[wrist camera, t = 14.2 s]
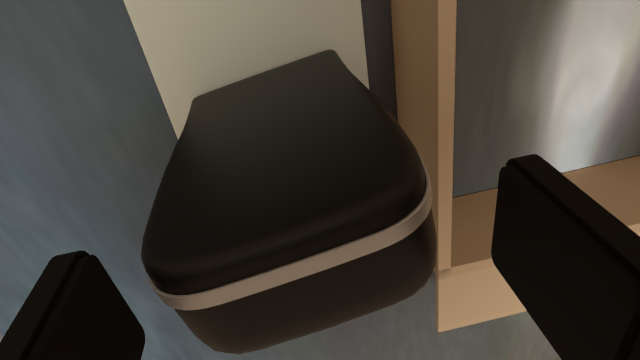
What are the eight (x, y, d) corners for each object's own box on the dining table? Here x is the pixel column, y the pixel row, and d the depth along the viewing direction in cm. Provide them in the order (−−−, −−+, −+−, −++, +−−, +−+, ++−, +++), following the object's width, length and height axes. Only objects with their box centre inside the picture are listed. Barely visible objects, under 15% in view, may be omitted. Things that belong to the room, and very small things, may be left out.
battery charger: (222, 168, 19) (197, 401, 10) (185, 97, 17) (106, 300, 8) (359, 120, 19) (476, 307, 9) (338, 42, 17) (459, 178, 7)
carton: (790, -275, 14) (1018, -365, 10) (631, 214, 26) (705, 267, 22) (378, -203, 14) (438, -266, 9) (406, 266, 25) (438, 332, 21)
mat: (352, -56, 16) (355, -56, 15) (377, 193, 22) (379, 198, 22) (122, -12, 15) (119, -11, 15) (216, 229, 22) (215, 235, 21)
